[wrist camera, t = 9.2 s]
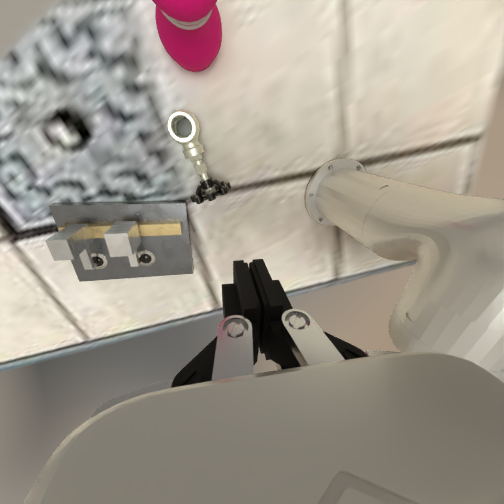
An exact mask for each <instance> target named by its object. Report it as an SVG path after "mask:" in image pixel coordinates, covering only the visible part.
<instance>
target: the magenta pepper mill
mask: <svg viewBox="0 0 504 504" xmlns="http://www.w3.org/2000/svg"><path fill="white" fill-rule="evenodd" d="M153 2H154V3H155V4H156V24H157V29H158V33H159V37H160V39H161V42H162V44H163V46H164V48H165V49H166V51H167V52H168V54H169V55H170V56H171V57H172V58H173V59H174V60H175V61H176V62H177V63H178V64H179V65H181V66H182V67H183V68H185V69H187V70H189V71H193V72H198V71H202V70H204V69H206V68H207V67H208V66H209V65H210V64H211V63H212V61H213V60H214V59H215V57H216V56H217V54H218V52H219V49H220V45H221V40H222V27H221V19H220V15H219V11H218V8H217V6H216V2H217V0H153Z"/></svg>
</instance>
